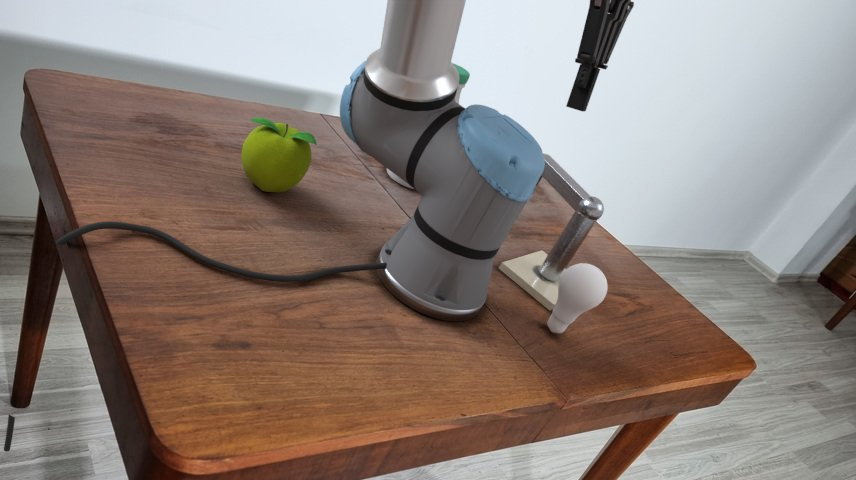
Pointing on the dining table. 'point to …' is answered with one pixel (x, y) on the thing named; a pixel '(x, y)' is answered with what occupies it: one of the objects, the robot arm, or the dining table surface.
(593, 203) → the spout
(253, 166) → the fruit
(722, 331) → the dining table surface
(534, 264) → the faucet stand
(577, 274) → the lightbulb
